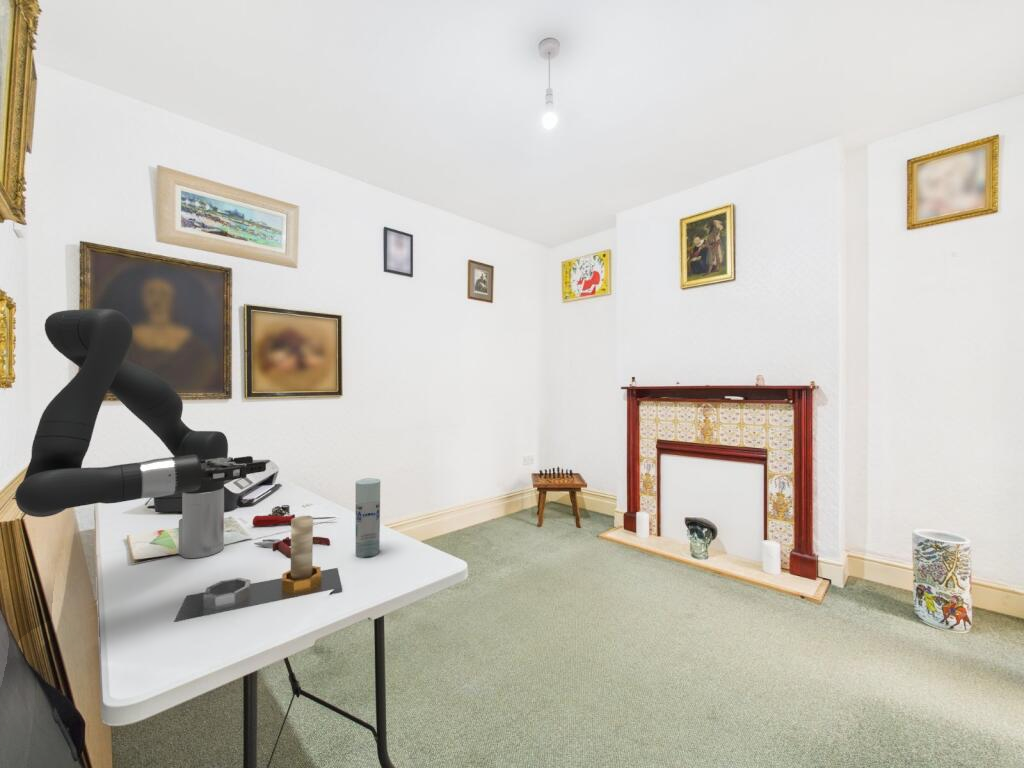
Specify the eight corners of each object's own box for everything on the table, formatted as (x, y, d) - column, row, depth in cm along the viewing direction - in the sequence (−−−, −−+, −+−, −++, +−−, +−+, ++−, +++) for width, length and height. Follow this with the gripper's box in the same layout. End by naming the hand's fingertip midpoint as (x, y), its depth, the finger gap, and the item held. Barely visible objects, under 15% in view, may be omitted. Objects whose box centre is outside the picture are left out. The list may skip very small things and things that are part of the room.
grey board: (173, 627, 79) (173, 608, 79) (186, 600, 89) (186, 584, 89) (341, 591, 93) (342, 576, 93) (337, 571, 103) (337, 557, 103)
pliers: (273, 538, 126) (274, 530, 125) (332, 545, 121) (332, 536, 121) (241, 554, 114) (241, 544, 114) (303, 562, 110) (303, 552, 110)
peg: (286, 588, 92) (286, 521, 92) (298, 579, 97) (299, 515, 97) (304, 590, 92) (305, 522, 92) (316, 580, 96) (316, 516, 96)
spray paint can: (354, 550, 116) (354, 479, 116) (378, 547, 119) (378, 477, 119) (355, 560, 110) (356, 484, 110) (381, 555, 113) (382, 482, 113)
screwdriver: (334, 524, 138) (334, 513, 138) (251, 528, 133) (251, 517, 133) (336, 520, 141) (336, 510, 141) (256, 524, 136) (256, 514, 136)
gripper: (177, 463, 79) (270, 451, 91) (161, 453, 89) (248, 443, 101) (177, 502, 79) (270, 484, 92) (162, 487, 89) (248, 474, 101)
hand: (258, 463), depth 96 cm, fingers open, 8 cm apart
